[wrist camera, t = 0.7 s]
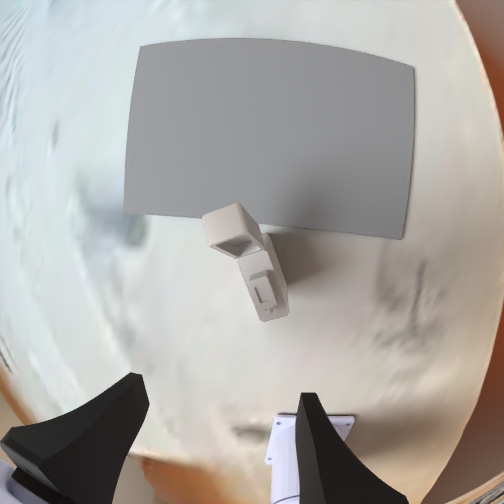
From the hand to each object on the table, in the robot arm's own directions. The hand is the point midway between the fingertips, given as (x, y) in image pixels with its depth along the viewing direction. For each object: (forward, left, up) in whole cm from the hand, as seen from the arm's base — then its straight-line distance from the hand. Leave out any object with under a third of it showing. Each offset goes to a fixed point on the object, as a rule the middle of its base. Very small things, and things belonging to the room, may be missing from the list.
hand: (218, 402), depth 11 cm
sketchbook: (-73, -88, -11) cm, 115 cm away
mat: (+13, -1, -10) cm, 16 cm away
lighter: (+5, -1, -10) cm, 11 cm away
